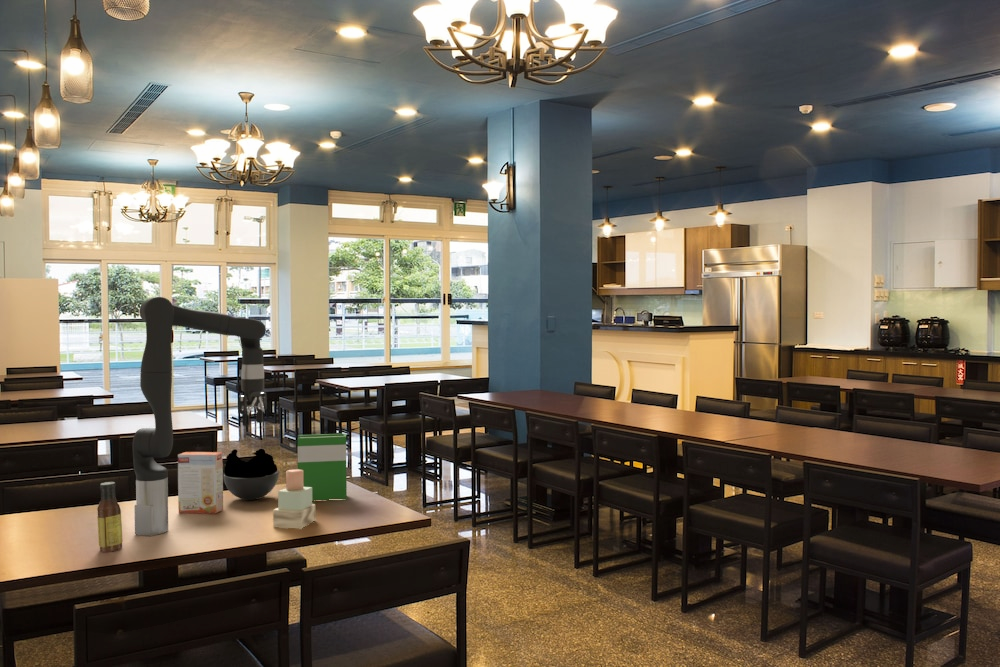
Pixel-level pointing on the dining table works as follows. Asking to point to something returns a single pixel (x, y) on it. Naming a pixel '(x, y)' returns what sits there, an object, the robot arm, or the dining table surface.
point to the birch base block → (293, 517)
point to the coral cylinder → (294, 480)
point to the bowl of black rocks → (250, 475)
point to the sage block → (295, 499)
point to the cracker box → (200, 482)
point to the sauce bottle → (109, 519)
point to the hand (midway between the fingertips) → (252, 424)
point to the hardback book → (323, 465)
